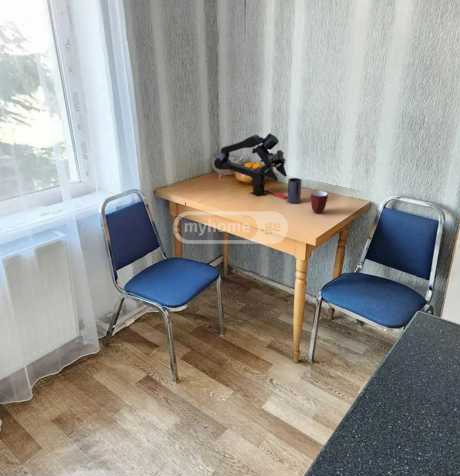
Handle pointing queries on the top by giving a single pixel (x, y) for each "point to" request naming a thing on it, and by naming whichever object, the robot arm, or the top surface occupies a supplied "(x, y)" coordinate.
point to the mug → (318, 201)
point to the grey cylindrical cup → (294, 190)
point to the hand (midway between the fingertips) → (281, 178)
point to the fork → (277, 194)
